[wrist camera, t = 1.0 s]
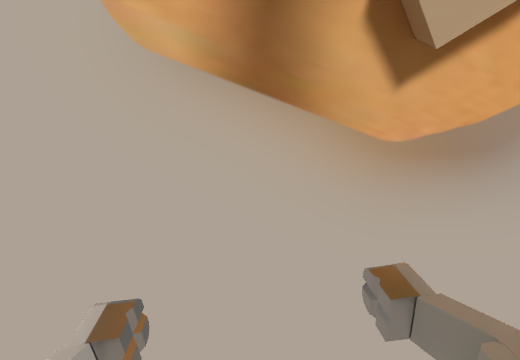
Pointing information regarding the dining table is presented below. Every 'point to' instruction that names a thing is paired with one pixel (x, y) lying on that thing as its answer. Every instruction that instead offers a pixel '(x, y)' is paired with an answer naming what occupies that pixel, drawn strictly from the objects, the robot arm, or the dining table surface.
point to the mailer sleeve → (447, 17)
